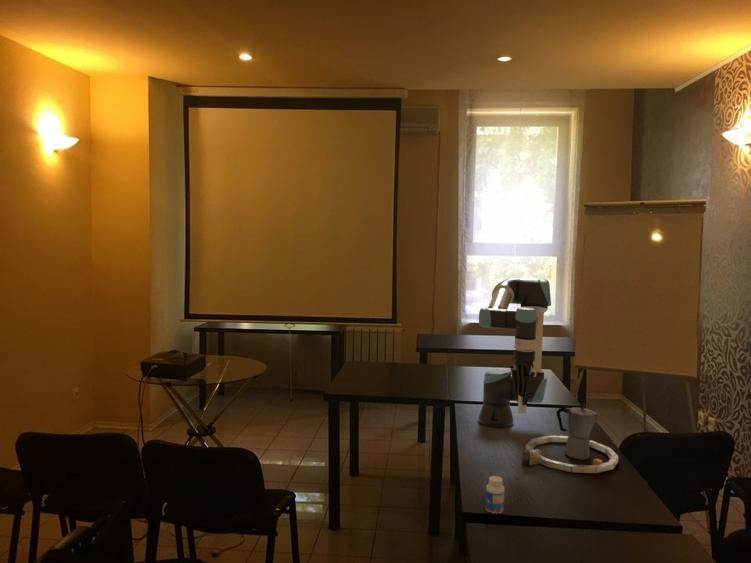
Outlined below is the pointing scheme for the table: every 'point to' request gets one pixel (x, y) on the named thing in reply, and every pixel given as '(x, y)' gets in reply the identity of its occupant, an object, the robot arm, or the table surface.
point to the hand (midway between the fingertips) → (521, 412)
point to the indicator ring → (535, 457)
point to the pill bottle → (495, 495)
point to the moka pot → (578, 430)
